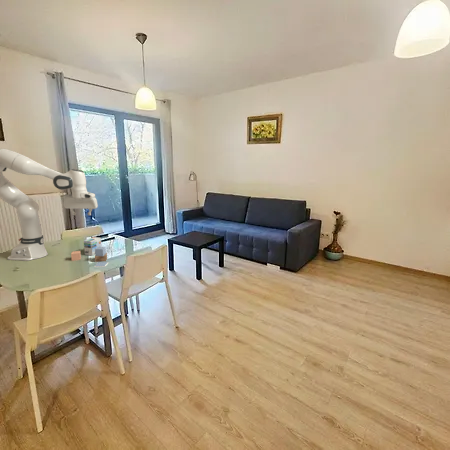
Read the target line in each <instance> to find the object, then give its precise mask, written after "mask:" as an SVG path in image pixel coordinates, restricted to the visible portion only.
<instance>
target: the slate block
mask: <svg viewBox="0 0 450 450" xmlns="http://www.w3.org/2000/svg"><path fill="white" fill-rule="evenodd" d="M106 253H107V251H106V246H102V247H97V248H96V249H95V255H94V257H95V256H104V255H105V254H106Z"/></svg>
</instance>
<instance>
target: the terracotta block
mask: <svg viewBox="0 0 450 450" xmlns="http://www.w3.org/2000/svg"><path fill="white" fill-rule="evenodd" d="M70 256H71V262H72V261H73V262H75V261H81V259H82V254H81V250H77V251H76V250H75V251H71V254H70Z"/></svg>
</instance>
